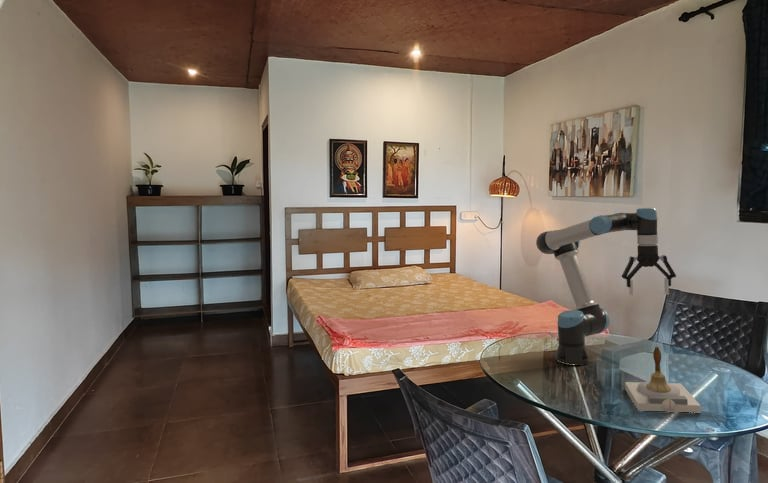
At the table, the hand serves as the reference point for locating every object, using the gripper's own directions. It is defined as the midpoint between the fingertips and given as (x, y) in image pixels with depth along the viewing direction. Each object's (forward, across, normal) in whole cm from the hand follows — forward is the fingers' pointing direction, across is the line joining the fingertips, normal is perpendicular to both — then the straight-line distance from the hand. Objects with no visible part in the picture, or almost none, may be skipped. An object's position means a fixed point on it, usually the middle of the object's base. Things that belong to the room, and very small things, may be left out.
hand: (648, 294), depth 203 cm
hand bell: (+31, +4, +26) cm, 41 cm away
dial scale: (+35, +4, +28) cm, 45 cm away
